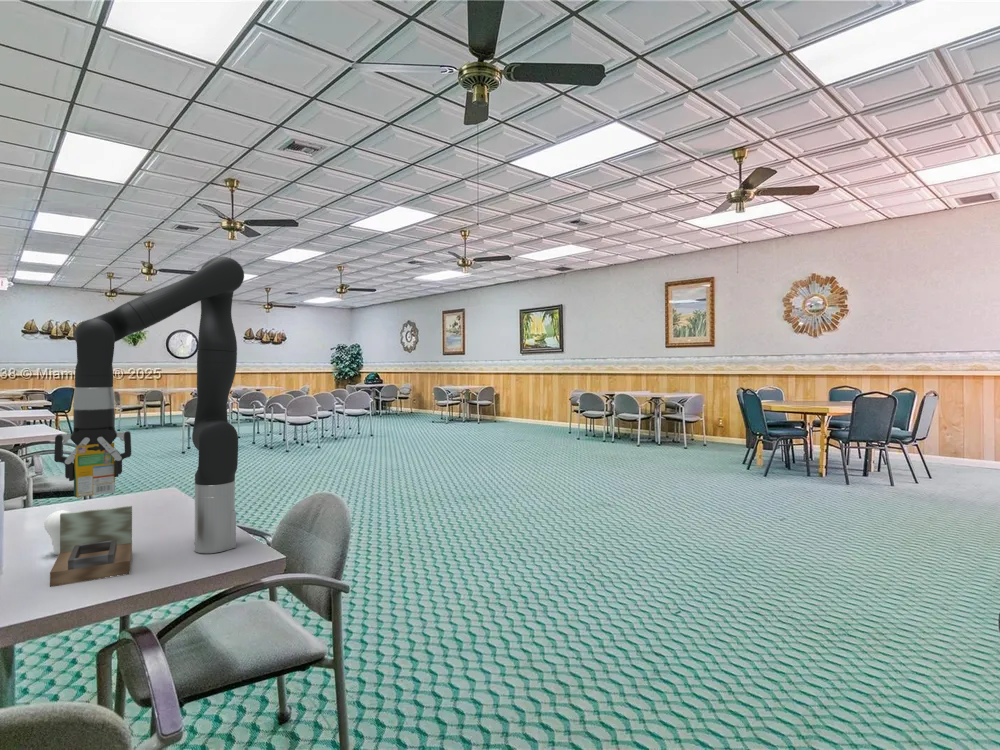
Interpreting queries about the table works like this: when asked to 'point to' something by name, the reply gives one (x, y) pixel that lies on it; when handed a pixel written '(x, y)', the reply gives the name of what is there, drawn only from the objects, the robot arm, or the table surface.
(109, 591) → the table surface
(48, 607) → the table surface
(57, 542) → the lightbulb
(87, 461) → the crayon box
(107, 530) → the display stand
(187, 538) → the table surface
